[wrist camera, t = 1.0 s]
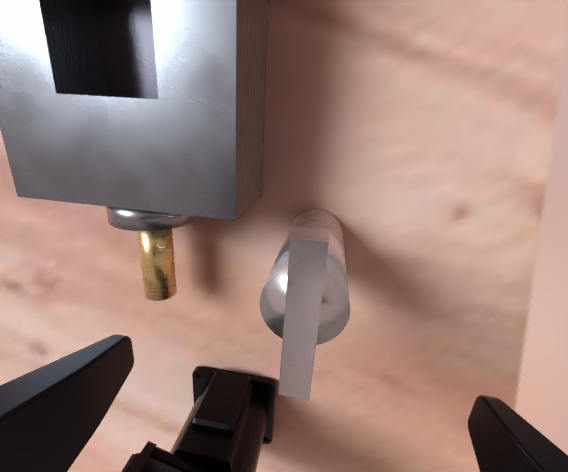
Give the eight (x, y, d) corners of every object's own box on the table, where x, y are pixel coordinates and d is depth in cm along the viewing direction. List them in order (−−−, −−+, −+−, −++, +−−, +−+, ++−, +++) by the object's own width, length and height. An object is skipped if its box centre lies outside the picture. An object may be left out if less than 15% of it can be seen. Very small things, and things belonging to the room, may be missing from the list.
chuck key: (336, 281, 19) (339, 405, 10) (286, 274, 19) (250, 389, 11) (349, 188, 17) (366, 246, 8) (293, 183, 17) (254, 233, 8)
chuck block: (257, 284, 20) (234, 332, 15) (108, 264, 21) (44, 301, 16) (272, -120, 13) (237, -265, 8) (49, -111, 14) (-92, -230, 9)
